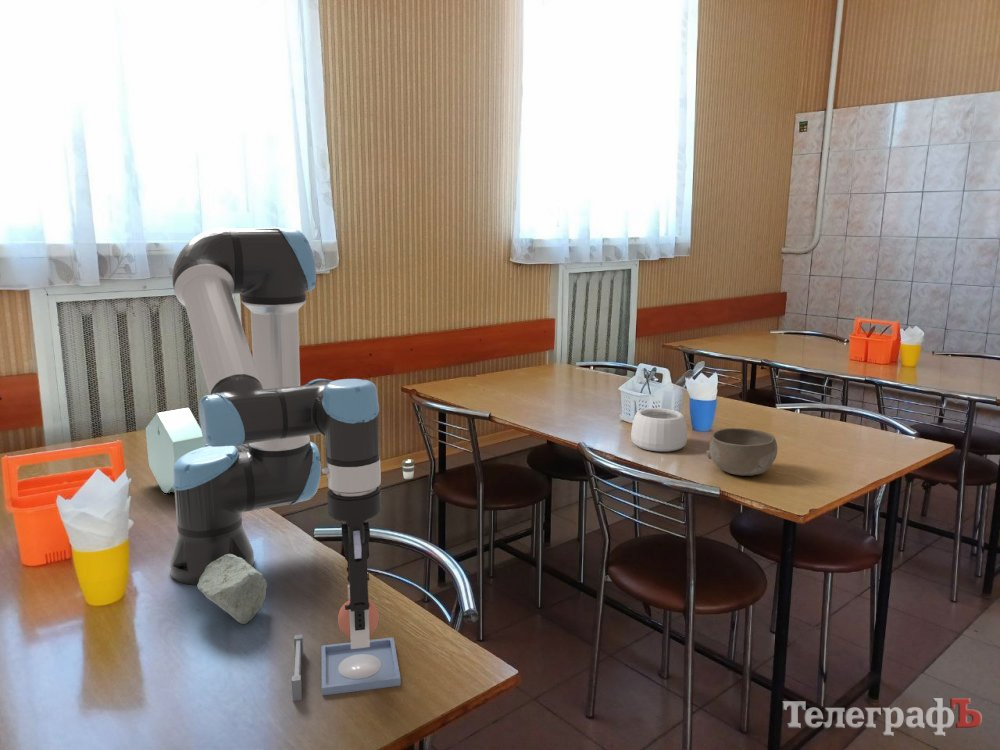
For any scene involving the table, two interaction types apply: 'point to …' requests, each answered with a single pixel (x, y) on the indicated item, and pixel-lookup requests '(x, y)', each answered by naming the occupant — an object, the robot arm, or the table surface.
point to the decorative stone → (234, 587)
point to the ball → (345, 618)
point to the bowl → (742, 450)
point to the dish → (359, 667)
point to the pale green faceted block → (171, 443)
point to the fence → (297, 668)
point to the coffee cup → (408, 468)
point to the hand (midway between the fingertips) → (359, 634)
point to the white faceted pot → (659, 429)
